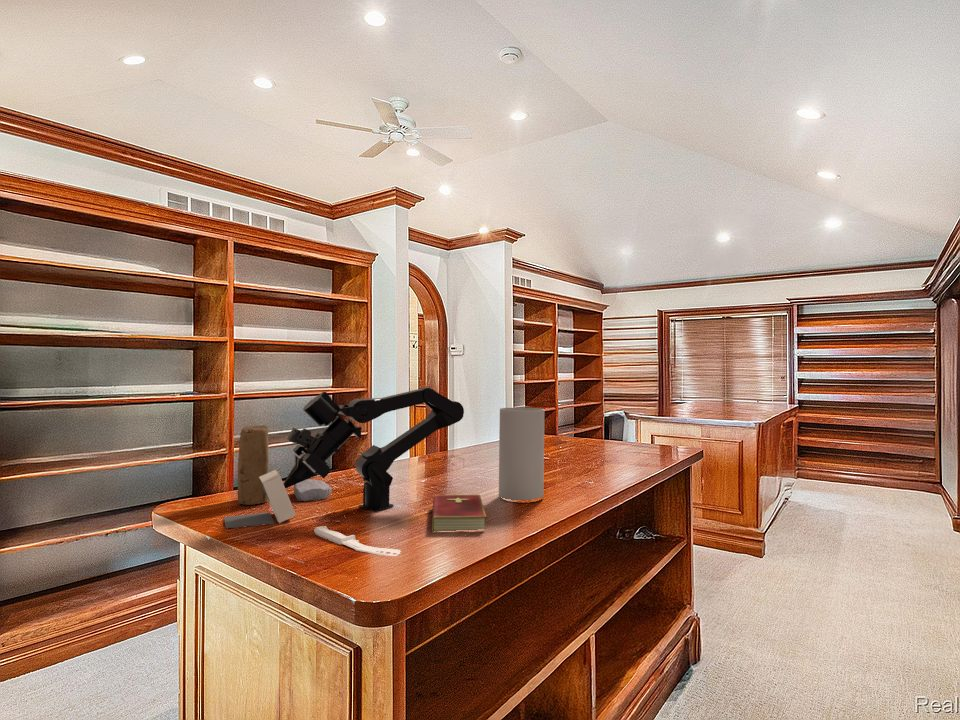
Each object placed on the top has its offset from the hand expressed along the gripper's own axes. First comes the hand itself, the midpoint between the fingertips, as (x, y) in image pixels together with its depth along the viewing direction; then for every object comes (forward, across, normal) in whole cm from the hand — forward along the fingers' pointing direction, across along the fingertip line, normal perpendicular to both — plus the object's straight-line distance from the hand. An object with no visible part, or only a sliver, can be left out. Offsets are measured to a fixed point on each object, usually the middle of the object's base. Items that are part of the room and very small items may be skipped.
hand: (284, 486), depth 130 cm
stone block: (-2, -20, +13) cm, 24 cm away
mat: (+11, 0, 0) cm, 11 cm away
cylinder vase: (-39, +7, +49) cm, 63 cm away
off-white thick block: (+4, 0, +5) cm, 7 cm away
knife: (-4, +29, +15) cm, 33 cm away
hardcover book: (-21, +19, +32) cm, 42 cm away
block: (+9, -20, +2) cm, 22 cm away
